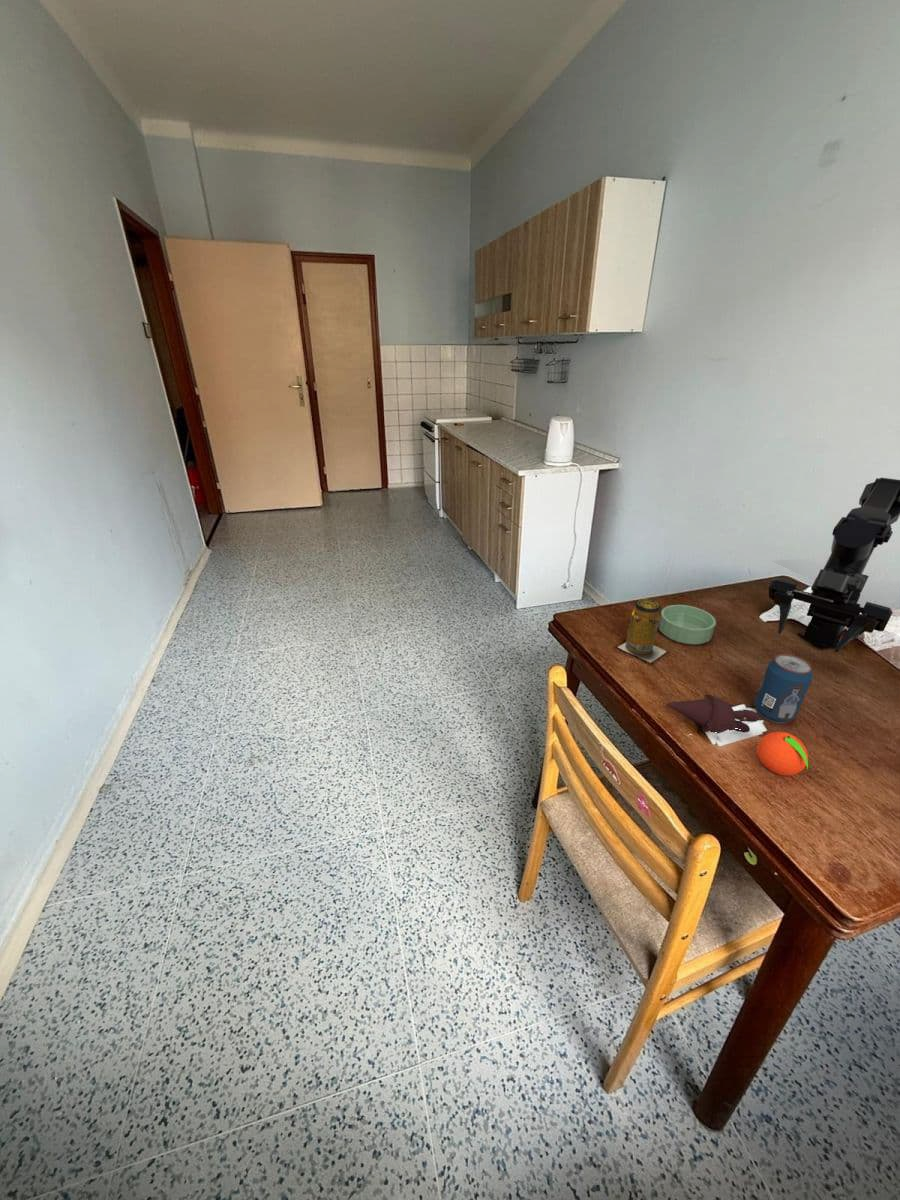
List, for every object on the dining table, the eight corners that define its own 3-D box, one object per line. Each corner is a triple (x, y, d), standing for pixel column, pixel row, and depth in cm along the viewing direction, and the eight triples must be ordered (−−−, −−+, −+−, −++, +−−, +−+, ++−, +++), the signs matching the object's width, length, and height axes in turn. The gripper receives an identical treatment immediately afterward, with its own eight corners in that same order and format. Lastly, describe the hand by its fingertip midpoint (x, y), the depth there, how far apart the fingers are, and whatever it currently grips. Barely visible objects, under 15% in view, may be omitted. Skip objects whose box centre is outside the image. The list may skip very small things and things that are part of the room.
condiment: (634, 637, 116) (642, 594, 111) (666, 651, 110) (677, 607, 105) (617, 648, 112) (625, 604, 106) (650, 664, 106) (660, 618, 101)
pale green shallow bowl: (693, 618, 124) (697, 603, 122) (722, 643, 113) (727, 627, 111) (649, 621, 123) (652, 606, 120) (673, 647, 112) (677, 631, 110)
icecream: (673, 709, 84) (766, 731, 80) (672, 677, 89) (759, 696, 85) (661, 730, 88) (749, 751, 85) (661, 698, 94) (743, 717, 90)
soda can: (767, 697, 96) (786, 648, 90) (802, 718, 90) (825, 667, 84) (744, 707, 93) (762, 658, 87) (779, 730, 88) (800, 678, 82)
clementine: (816, 785, 77) (832, 753, 73) (779, 793, 75) (794, 761, 72) (776, 749, 83) (789, 719, 80) (742, 756, 82) (754, 725, 79)
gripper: (787, 539, 91) (751, 609, 90) (914, 567, 79) (875, 648, 78) (786, 565, 100) (753, 629, 98) (901, 593, 88) (865, 667, 86)
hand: (806, 641), depth 90 cm, fingers open, 9 cm apart
